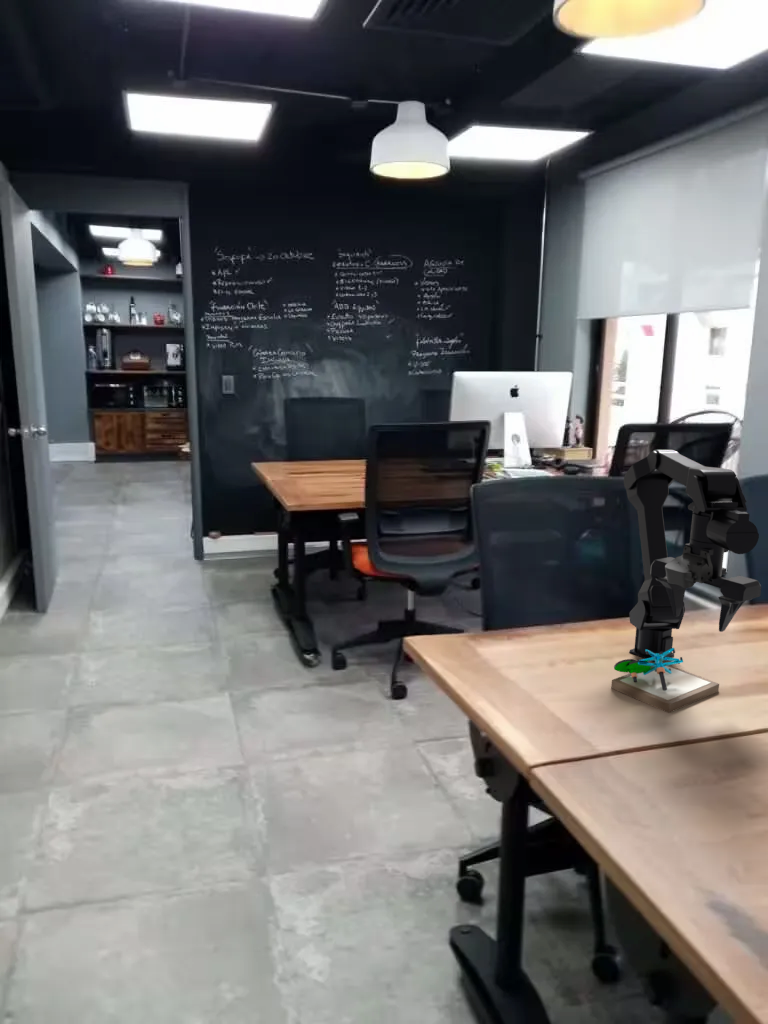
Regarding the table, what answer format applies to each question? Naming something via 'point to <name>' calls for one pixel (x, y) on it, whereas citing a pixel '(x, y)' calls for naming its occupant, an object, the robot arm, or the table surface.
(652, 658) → the stick construction toy
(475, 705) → the table surface
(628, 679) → the walnut framed pale panel
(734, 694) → the table surface
